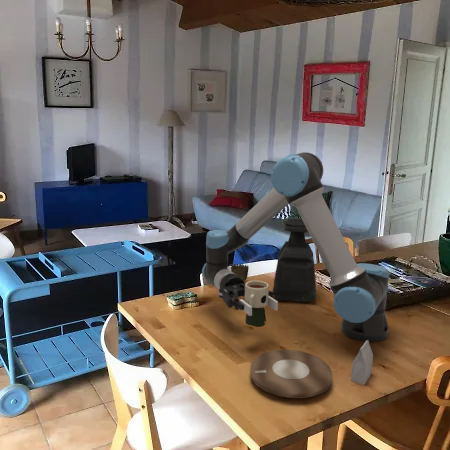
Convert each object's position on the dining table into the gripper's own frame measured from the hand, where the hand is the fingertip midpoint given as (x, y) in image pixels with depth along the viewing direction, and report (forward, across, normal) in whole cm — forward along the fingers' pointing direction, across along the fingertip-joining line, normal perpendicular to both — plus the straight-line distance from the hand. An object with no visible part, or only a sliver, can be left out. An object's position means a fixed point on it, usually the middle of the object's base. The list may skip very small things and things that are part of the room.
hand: (264, 308), depth 143 cm
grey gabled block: (+22, -19, -15) cm, 33 cm away
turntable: (+15, 0, -13) cm, 20 cm away
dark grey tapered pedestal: (-36, -35, -15) cm, 52 cm away
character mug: (-5, 0, -7) cm, 9 cm away
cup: (-54, -20, -15) cm, 60 cm away
